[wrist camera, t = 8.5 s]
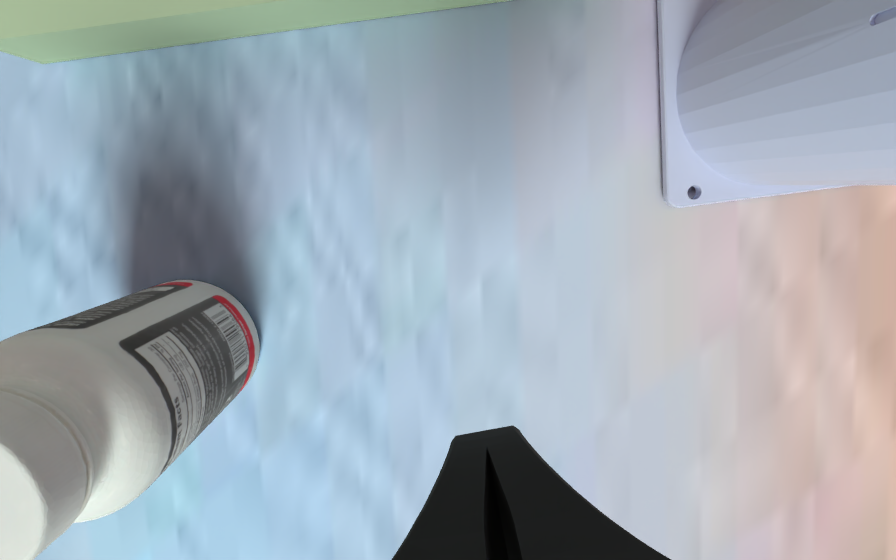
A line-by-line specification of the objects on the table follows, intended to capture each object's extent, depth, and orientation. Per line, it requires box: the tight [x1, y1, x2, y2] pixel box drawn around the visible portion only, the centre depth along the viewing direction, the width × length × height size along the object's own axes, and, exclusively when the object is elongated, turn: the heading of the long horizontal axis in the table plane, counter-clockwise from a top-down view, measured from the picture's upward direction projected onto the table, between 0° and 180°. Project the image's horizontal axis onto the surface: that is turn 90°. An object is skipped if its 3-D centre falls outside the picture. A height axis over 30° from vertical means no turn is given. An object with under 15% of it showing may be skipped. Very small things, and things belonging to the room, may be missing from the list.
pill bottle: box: [0, 280, 260, 560], centre depth 14 cm, size 5×5×10 cm
